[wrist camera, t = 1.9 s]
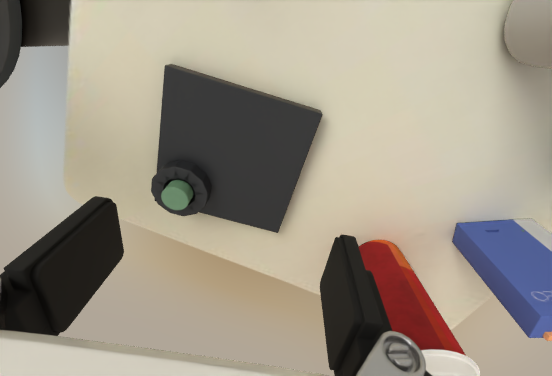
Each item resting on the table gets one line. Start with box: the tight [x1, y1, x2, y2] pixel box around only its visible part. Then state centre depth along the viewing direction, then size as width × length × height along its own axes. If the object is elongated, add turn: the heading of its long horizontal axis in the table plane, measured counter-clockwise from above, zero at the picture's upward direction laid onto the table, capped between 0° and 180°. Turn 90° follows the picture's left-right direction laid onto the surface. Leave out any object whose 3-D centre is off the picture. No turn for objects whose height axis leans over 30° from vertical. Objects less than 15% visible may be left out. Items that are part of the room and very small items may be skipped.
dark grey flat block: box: [151, 64, 322, 233], centre depth 26 cm, size 14×14×3 cm
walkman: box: [452, 218, 552, 341], centre depth 25 cm, size 8×3×12 cm, turn 97°
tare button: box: [161, 180, 193, 210], centre depth 26 cm, size 3×3×2 cm
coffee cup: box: [359, 240, 480, 376], centre depth 27 cm, size 8×8×15 cm
